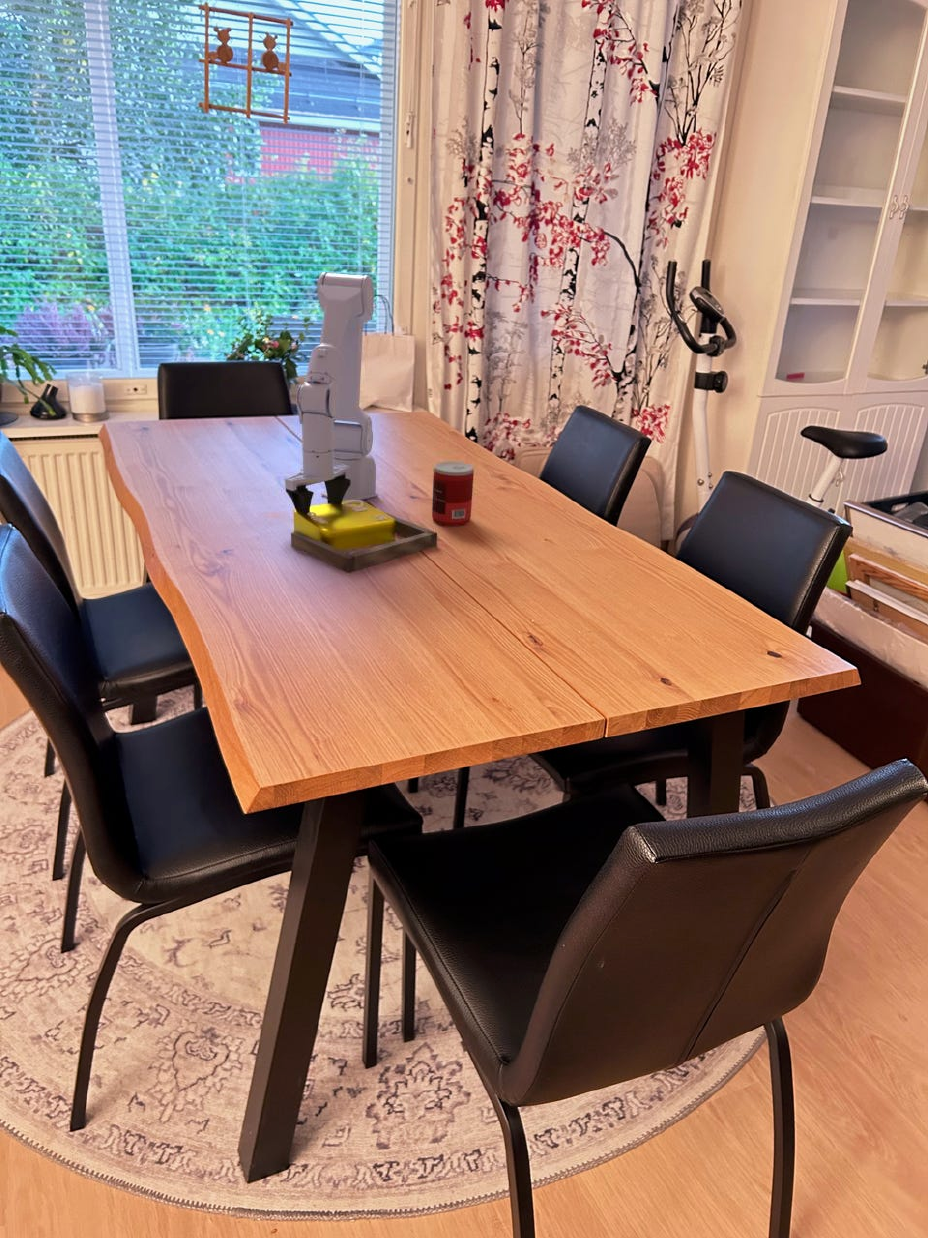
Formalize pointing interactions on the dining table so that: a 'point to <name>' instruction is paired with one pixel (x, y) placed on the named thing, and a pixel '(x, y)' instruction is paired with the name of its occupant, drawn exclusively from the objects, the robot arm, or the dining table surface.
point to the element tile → (346, 524)
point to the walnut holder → (412, 543)
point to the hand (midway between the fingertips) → (319, 519)
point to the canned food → (452, 493)
